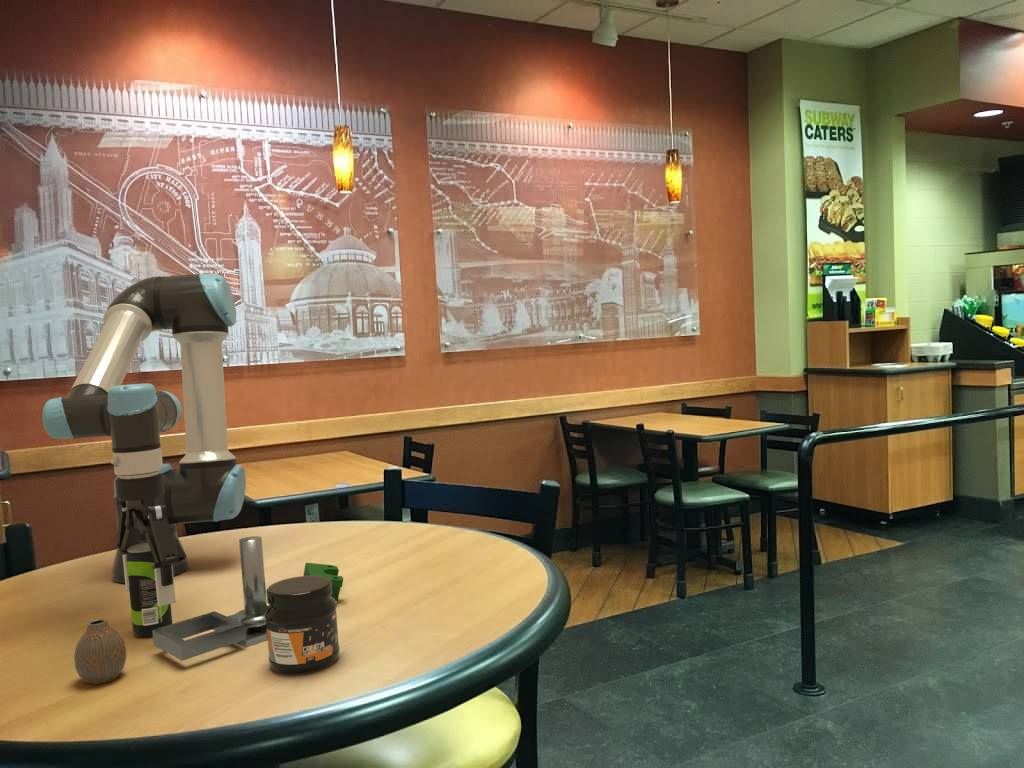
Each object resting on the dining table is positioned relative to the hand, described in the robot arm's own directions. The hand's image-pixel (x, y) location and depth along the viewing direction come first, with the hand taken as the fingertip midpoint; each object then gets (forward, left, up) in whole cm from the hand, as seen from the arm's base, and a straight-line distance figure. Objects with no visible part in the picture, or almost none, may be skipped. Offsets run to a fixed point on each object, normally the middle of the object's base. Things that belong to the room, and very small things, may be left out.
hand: (150, 596), depth 140 cm
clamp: (+10, +28, -7) cm, 30 cm away
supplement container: (+34, +9, -7) cm, 36 cm away
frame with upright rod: (+16, +6, -6) cm, 18 cm away
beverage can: (0, 0, -6) cm, 6 cm away
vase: (+14, -13, -7) cm, 20 cm away
